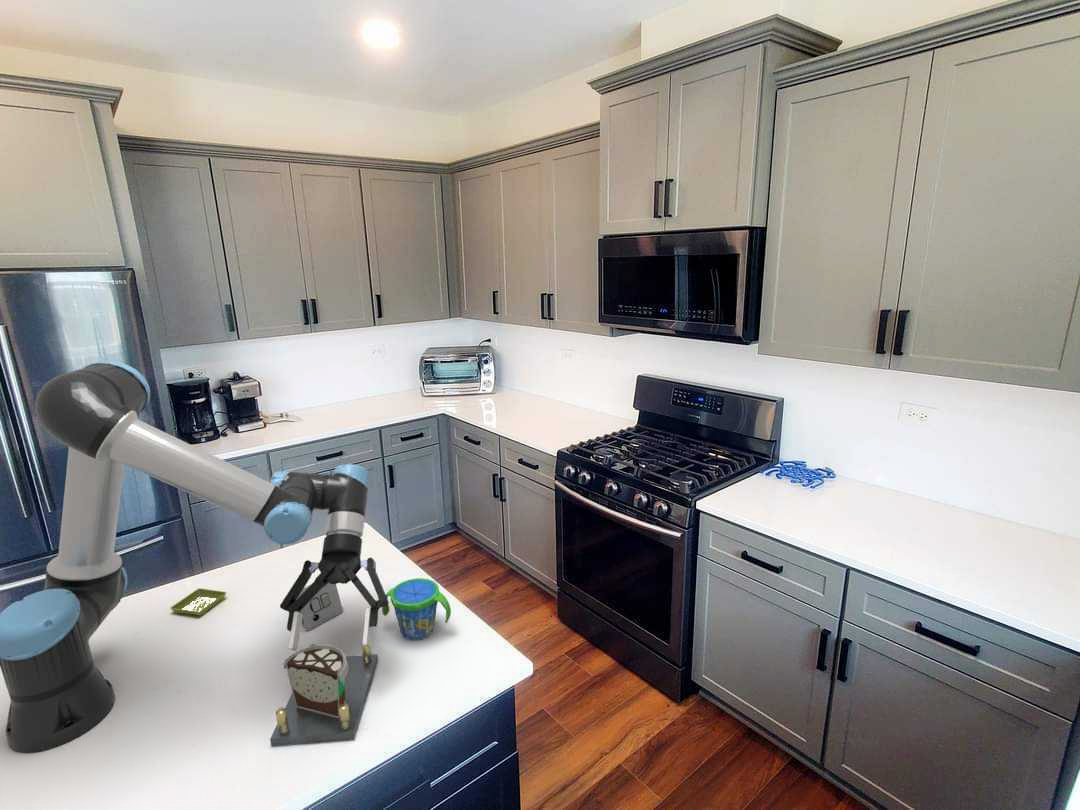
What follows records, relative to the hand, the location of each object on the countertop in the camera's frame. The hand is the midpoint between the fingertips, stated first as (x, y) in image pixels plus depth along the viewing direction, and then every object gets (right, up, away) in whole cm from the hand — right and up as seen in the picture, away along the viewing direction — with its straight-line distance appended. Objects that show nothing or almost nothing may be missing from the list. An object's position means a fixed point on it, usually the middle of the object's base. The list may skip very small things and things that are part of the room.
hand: (329, 647), depth 104 cm
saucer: (-44, -4, +31) cm, 54 cm away
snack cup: (+12, -5, +20) cm, 24 cm away
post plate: (0, -10, +1) cm, 10 cm away
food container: (0, -9, -1) cm, 9 cm away
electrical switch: (-12, -4, +25) cm, 28 cm away
